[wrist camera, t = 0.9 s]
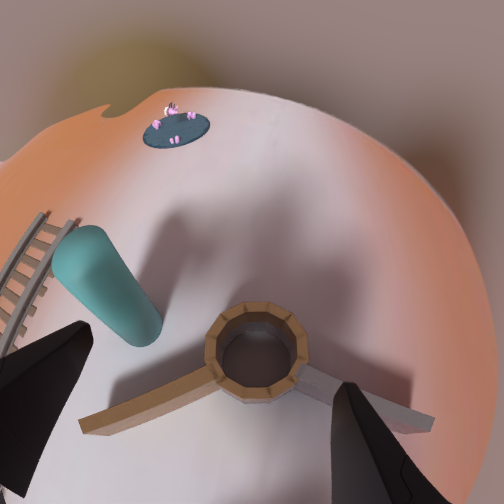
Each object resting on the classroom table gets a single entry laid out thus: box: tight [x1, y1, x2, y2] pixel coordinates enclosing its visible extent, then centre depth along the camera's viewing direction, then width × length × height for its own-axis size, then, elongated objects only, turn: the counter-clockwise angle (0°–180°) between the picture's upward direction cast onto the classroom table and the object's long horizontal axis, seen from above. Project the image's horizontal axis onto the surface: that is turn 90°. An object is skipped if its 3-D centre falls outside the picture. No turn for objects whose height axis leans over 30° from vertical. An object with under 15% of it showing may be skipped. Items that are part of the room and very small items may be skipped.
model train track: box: [0, 212, 78, 358], centre depth 24 cm, size 11×31×2 cm, turn 164°
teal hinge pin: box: [52, 225, 162, 347], centre depth 20 cm, size 4×4×12 cm
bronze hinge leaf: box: [78, 302, 309, 436], centre depth 20 cm, size 17×12×4 cm
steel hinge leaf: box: [219, 322, 435, 434], centre depth 20 cm, size 7×19×4 cm, turn 60°
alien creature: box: [143, 103, 210, 148], centre depth 43 cm, size 12×12×7 cm
